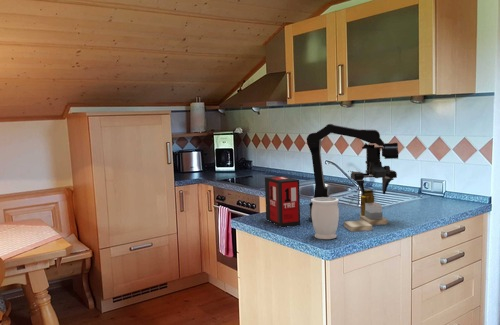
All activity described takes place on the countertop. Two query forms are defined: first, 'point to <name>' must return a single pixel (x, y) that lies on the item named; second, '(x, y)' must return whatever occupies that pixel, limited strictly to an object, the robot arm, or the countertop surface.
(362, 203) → the condiment
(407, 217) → the countertop surface
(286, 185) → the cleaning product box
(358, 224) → the stand
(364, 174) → the robot arm
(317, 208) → the jar
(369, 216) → the block
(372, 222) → the stand
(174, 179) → the countertop surface
